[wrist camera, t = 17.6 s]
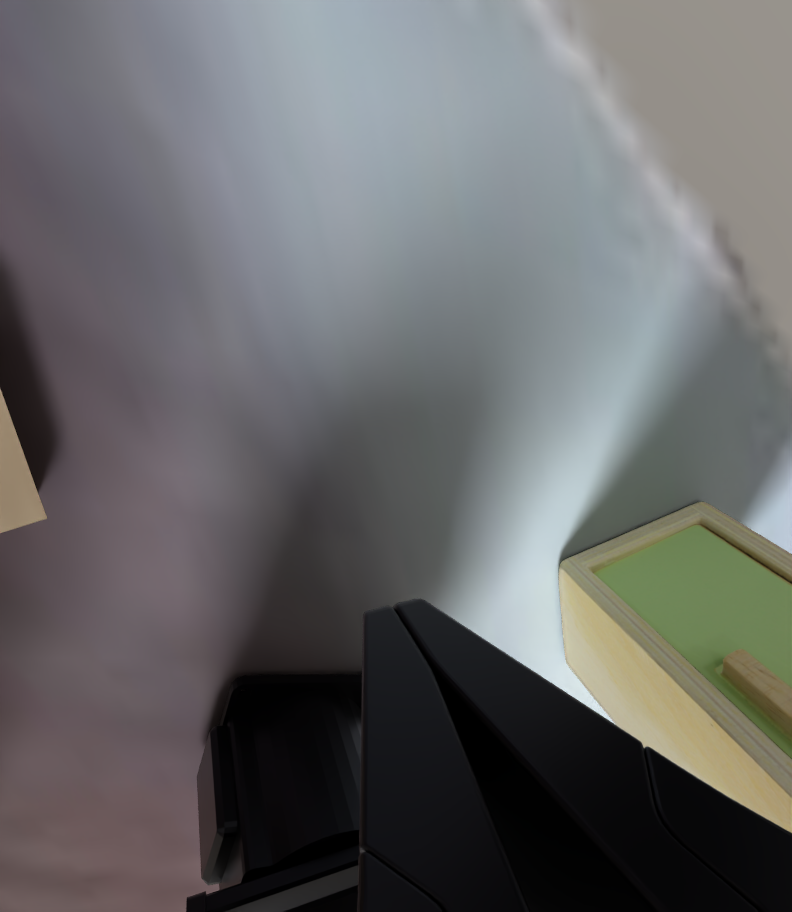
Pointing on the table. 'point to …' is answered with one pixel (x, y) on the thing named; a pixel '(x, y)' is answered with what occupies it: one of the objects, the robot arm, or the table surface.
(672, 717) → the toy refrigerator
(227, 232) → the table surface
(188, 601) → the table surface
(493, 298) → the table surface
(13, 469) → the domino
